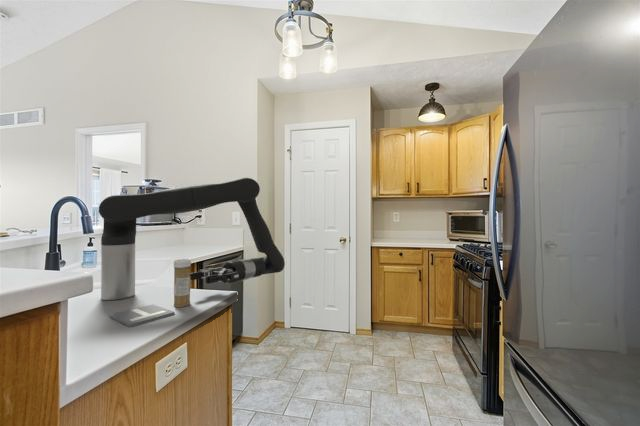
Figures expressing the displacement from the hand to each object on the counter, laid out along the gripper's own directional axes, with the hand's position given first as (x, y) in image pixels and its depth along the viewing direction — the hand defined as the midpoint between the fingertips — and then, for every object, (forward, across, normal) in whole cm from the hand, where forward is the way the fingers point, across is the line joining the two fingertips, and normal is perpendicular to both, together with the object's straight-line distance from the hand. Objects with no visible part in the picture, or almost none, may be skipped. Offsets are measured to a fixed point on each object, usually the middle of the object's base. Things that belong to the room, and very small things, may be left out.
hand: (198, 278), depth 91 cm
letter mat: (+16, 0, +7) cm, 18 cm away
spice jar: (+5, 0, +7) cm, 9 cm away
